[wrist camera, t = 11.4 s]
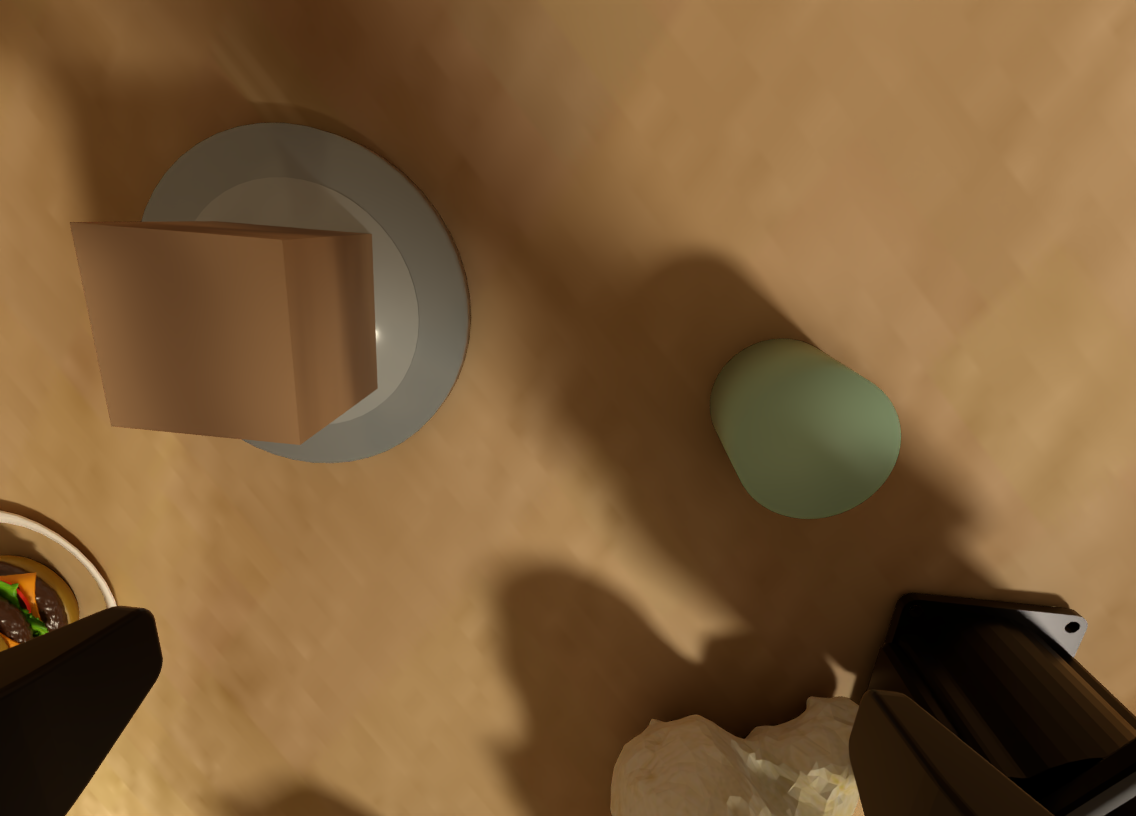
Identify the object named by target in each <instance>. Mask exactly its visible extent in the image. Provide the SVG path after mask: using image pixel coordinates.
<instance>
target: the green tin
mask: <svg viewBox="0 0 1136 816" xmlns="http://www.w3.org/2000/svg"><path fill="white" fill-rule="evenodd" d="M710 415H711V420H712V423H713V426H714V428H715V430H716V432H717V434H718V436H719V438H720V440H721V442H722V444H723V447H724V449H725V451H726V453H727V455H728V457H729V459H730V461H731V463H732V465H733V467H734V469H735V471H736V473H737V475H738V477H739V479H740V481H741V483H742V485H743V486H744V488H745V489H746V490H747V492H748V493H749V494H750V495H751V496H752V497H753V498H754V499H755V500H756V501H757V502H758V503H760V504H761V505H762V506H764V507H766V508H767V509H769V510H771V511H773V512H776V513H778V514H781V515H784V516H788V517H793V518H799V519H816V518H824V517H830V516H833V515H837V514H840V513H843V512H845V511H848V510H850V509H852V508H854V507H856V506H857V505H859V504H861V503H862V502H864V501H865V500H867V499H868V498H869V497H870V496H872V495H873V494H874V493H875V492H876V491H877V490H878V489H879V488H880V487H881V486H882V484H883V483H884V482H885V481H886V479H887V478H888V476H889V475H890V473H891V471H892V469H893V467H894V466H895V463H896V460H897V458H898V455H899V450H900V445H901V429H900V423H899V419H898V415H897V413H896V411H895V408H894V406H893V405H892V403H891V401H890V400H889V398H888V397H887V396H886V395H885V394H884V393H883V391H882V390H880V389H879V388H878V387H877V386H876V385H875V384H873V383H871V382H870V381H868V380H867V379H865V378H864V377H862V376H860V375H859V374H857V373H856V372H854V371H852V370H851V369H849V368H848V367H846V366H845V365H843V364H841V363H840V362H838V361H837V360H835V359H833V358H832V357H830V356H829V355H827V354H826V353H824V352H822V351H821V350H819V349H818V348H816V347H814V346H812V345H810V344H808V343H806V342H802V341H799V340H793V339H771V340H766V341H762V342H759V343H756V344H754V345H751V346H749V347H747V348H746V349H744V350H742V351H741V352H739V353H738V354H736V355H735V356H734V357H733V358H732V359H731V360H730V361H729V362H728V363H727V364H726V365H725V366H724V367H723V369H722V370H721V372H720V373H719V375H718V377H717V379H716V380H715V383H714V386H713V388H712V392H711V397H710Z"/></svg>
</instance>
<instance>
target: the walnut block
mask: <svg viewBox="0 0 1136 816" xmlns="http://www.w3.org/2000/svg"><path fill="white" fill-rule="evenodd" d="M70 226H71V231H72V235H73V240H74V245H75V250H76V255H77V260H78V265H79V270H80V275H81V280H82V285H83V289H84V294H85V299H86V304H87V309H88V314H89V319H90V324H91V329H92V334H93V339H94V344H95V348H96V353H97V358H98V363H99V368H100V373H101V378H102V383H103V388H104V393H105V398H106V403H107V407H108V412H109V417H110V422H111V426H114V427H124V428H134V429H144V430H154V431H165V432H175V433H185V434H195V435H205V436H215V437H225V438H235V439H245V440H255V441H265V442H275V443H285V444H295V445H301V444H302V443H304V442H305V441H306V440H308V439H309V438H310V437H312V436H313V435H315V434H316V433H317V432H319V431H320V430H321V429H323V428H324V427H326V426H327V425H328V424H330V423H331V422H332V421H334V420H335V419H337V418H338V417H339V416H341V415H342V414H343V413H345V412H346V411H348V410H349V409H350V408H352V407H353V406H354V405H356V404H357V403H359V402H360V401H361V400H363V399H364V398H365V397H367V396H368V395H370V394H371V393H372V392H374V391H375V390H376V389H378V383H377V356H376V329H375V302H374V275H373V249H372V234H366V233H354V232H342V231H330V230H317V229H305V228H293V227H281V226H268V225H256V224H244V223H232V222H219V221H174V222H70Z"/></svg>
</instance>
